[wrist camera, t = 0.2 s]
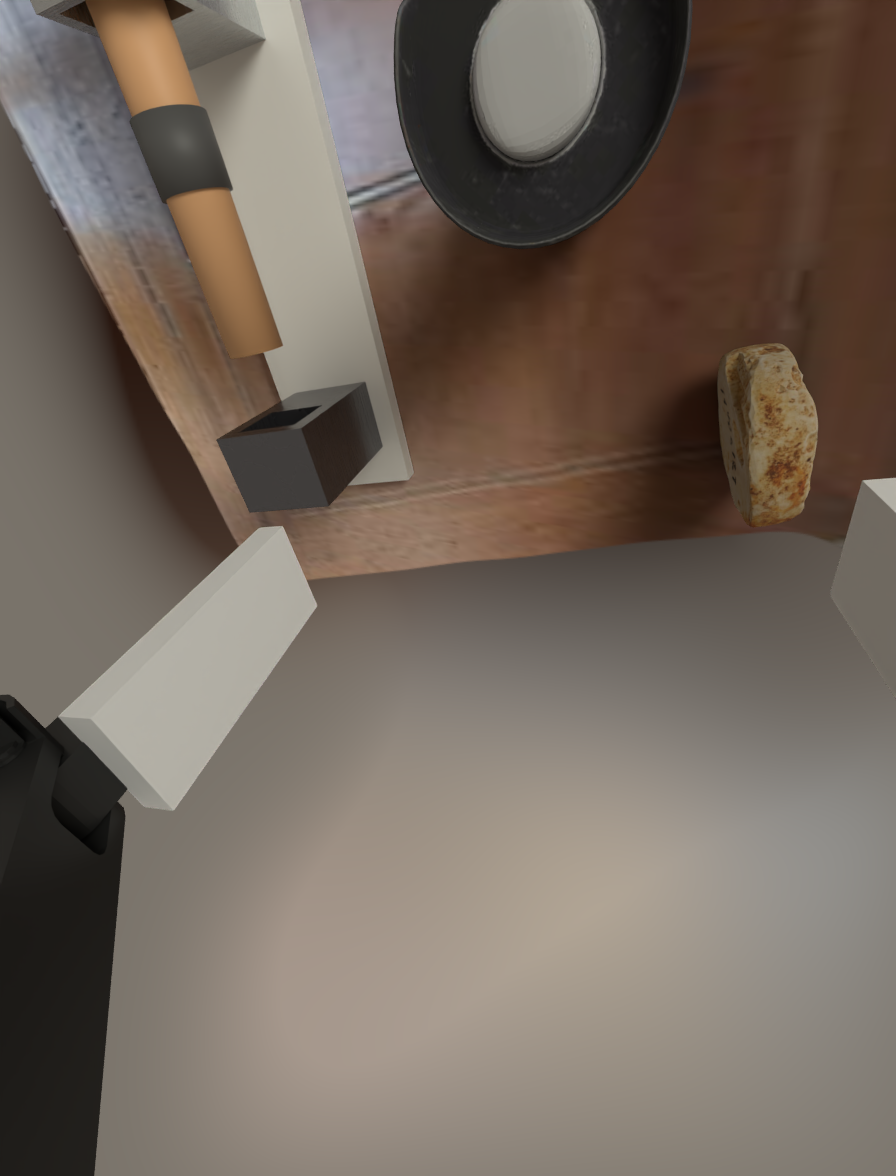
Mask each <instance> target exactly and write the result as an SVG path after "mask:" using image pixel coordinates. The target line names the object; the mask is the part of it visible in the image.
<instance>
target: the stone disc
mask: <svg viewBox="0 0 896 1176" xmlns="http://www.w3.org/2000/svg"><path fill="white" fill-rule="evenodd" d="M802 378H803V375H802V373H801V372H800V370H799V369H798V365H797V362H796V360H795V358H794V356H793V354H792V353H791V351H790V350H789V349H788V348H787V347H785V346H784V345H782V344H777V343H768V344H758V345H752V346H746V347H742V348H738V349H735V350H733V351H731V352H729V353H727V354H725V355H724V356H723V357H722V358H721V360H720V363H719V369H718V381H717V386H718V404H719V406H718V413H719V426H720V443H721V448H722V454H723V460H724V466H725V469H726V473H727V476H728V479H729V484H730V490H731V494H732V497H733V500H734V504H735V506H736V508H737V509H738V510H739V511H740V514H742V517H743V519H744V521H745V522H746V524H747V525H749V526H751V527H762V526H768V525H773V524H778V523H782V522H785V521H789V520H791V519H792V518H794V517H795V516H797V515H799V514H800V513H801V511H802V510H803V508H804V500H805V499H806V497H807V495H808V492H809V490H810V476H811V472H812V467H813V459H814V456H815V451H816V444H817V440H818V438H817V431H818V419H817V413H816V408H815V404H814V401H813V399H812V397H811V396H810V394H809V392H808V391H807V389H806V386H805V385H804V383H803V382H802Z"/></svg>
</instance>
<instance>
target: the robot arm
mask: <svg viewBox="0 0 896 1176" xmlns="http://www.w3.org/2000/svg"><path fill="white" fill-rule="evenodd" d="M830 596H831V598H832V599H833V601H834V602H835V604H836V606H837V607H838V609H839V610H840V612H841V614H842V615H843V617H844V618H845V620H846V622H847V623H848V624H849V626H850V628H851V629H852V631H853V633H854V634H855V635H856V637H857V639H858V640H859V642H860V644H861V645H862V647H863V648H864V650H865V651H866V653H867V655H868V656H869V658H870V659H871V661H872V663H873V664H874V666H875V667H876V669H877V670H878V672H879V674H880V675H881V676H882V678H883V680H884V681H885V683H886V685H887V686H888V688H889V689H890V691H891V693H892V694H893V696H894V697H895V699H896V478H889V479H876V480H863V481H862V484H861V487H860V491H859V494H858V498H857V501H856V505H855V508H854V512H853V515H852V519H851V522H850V526H849V529H848V532H847V536H846V539H845V543H844V546H843V550H842V553H841V557H840V560H839V564H838V567H837V571H836V574H835V578H834V581H833V585H832V588H831V592H830ZM316 607H317V604H316V601H315V599H314V597H313V595H312V592H311V590H310V588H309V585H308V583H307V581H306V578H305V576H304V574H303V571H302V569H301V567H300V565H299V562H298V560H297V558H296V555H295V553H294V551H293V548H292V546H291V544H290V542H289V539H288V537H287V535H286V532H285V530H284V528H283V526H275V527H262V528H258V529H257V530H256V531H255V532H254V533H253V534H252V535H251V536H250V537H249V538H248V539H247V540H246V541H244V542H243V543H242V544H241V545H240V546H239V547H238V548H237V549H236V550H235V551H234V552H233V553H232V554H231V555H230V556H228V558H226V559H225V560H224V561H223V562H222V563H221V564H220V565H219V566H218V567H217V568H216V569H215V570H214V571H212V572H211V573H210V574H209V575H208V576H207V577H206V578H205V579H204V580H203V581H202V582H201V583H200V584H199V585H198V586H196V587H195V588H194V589H193V590H192V591H191V592H190V593H189V594H188V595H187V596H186V597H185V598H184V599H183V600H182V601H181V602H179V603H178V604H177V605H176V606H175V607H174V608H173V609H172V610H171V611H170V612H169V613H168V614H167V615H166V616H165V617H163V618H162V619H161V620H160V621H159V622H158V623H157V624H156V625H155V626H154V627H153V628H152V629H151V630H150V631H149V632H148V633H146V634H145V635H144V636H143V637H142V638H141V639H140V640H139V641H138V642H137V643H136V644H135V645H134V646H133V647H131V648H130V649H129V650H128V651H127V652H126V653H125V654H124V655H123V656H122V657H121V658H120V659H119V660H118V661H117V662H115V664H113V665H112V666H111V667H110V668H109V669H108V670H107V671H106V672H105V673H104V674H103V675H102V676H101V677H100V678H98V679H97V680H96V681H95V682H94V683H93V684H92V685H91V686H90V687H89V688H88V689H87V690H86V691H85V692H83V694H81V695H80V696H79V697H78V698H77V699H76V700H75V701H74V702H73V703H72V704H71V705H70V706H69V707H68V708H66V709H65V710H64V711H63V712H62V713H61V714H60V715H59V716H58V717H57V718H56V719H55V720H54V721H53V722H52V723H51V724H50V725H49V726H48V727H46V728H44V727H43V726H42V725H41V724H40V723H39V722H38V721H37V720H36V719H35V718H34V717H33V716H32V715H31V714H30V713H29V712H28V711H27V710H26V709H25V708H24V707H23V706H22V705H21V704H20V703H19V702H18V701H17V700H16V699H15V698H14V697H12V696H10V695H0V1176H94V1171H95V1160H96V1148H97V1137H98V1124H99V1114H100V1102H101V1091H102V1079H103V1068H104V1067H103V1066H104V1056H105V1045H106V1033H107V1022H108V1009H109V999H110V987H111V975H112V964H113V952H114V941H115V929H116V918H117V907H118V894H119V884H120V872H121V860H122V849H123V838H124V825H125V811H124V808H123V807H122V806H121V805H120V804H119V803H118V802H117V801H118V800H119V799H120V797H121V796H122V795H123V794H124V793H125V792H126V790H128V791H129V792H130V793H131V794H132V795H133V796H134V797H135V798H136V799H137V800H138V801H139V802H140V803H141V804H142V806H144V807H149V808H156V809H163V810H171V811H174V809H175V808H176V806H177V805H178V804H179V802H180V801H181V799H182V798H183V797H184V795H185V794H186V792H187V791H188V789H189V788H190V787H191V785H192V784H193V782H194V781H195V780H196V778H197V777H198V775H199V774H200V772H201V771H202V770H203V768H204V767H205V765H206V764H207V762H208V761H209V759H210V758H211V757H212V755H213V754H214V752H215V751H216V749H217V748H218V747H219V745H220V744H221V742H222V741H223V740H224V738H225V737H226V735H227V734H228V732H229V731H230V730H231V728H232V726H233V725H234V724H235V723H236V721H237V720H238V718H239V717H240V715H241V714H242V712H243V711H244V710H245V708H246V707H247V705H248V704H249V702H250V701H251V700H252V698H253V697H254V695H255V694H256V693H257V691H258V690H259V688H260V687H261V685H262V684H263V683H264V681H265V680H266V678H267V677H268V676H269V674H270V673H271V671H272V670H273V668H274V667H275V666H276V664H277V663H278V661H279V660H280V658H281V657H282V656H283V654H284V653H285V651H286V650H287V648H288V647H289V645H290V644H291V643H292V641H293V640H294V638H295V637H296V636H297V634H298V633H299V631H300V630H301V628H302V627H303V626H304V624H305V623H306V621H307V620H308V618H309V617H310V616H311V614H312V613H313V611H314V610H315V608H316Z"/></svg>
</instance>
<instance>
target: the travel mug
mask: <svg viewBox="0 0 896 1176" xmlns="http://www.w3.org/2000/svg"><path fill="white" fill-rule="evenodd" d="M691 22H692V0H403V1H402V3H401V4H400V6H399V9H398V12H397V18H396V24H395V35H394V81H395V92H396V103H397V108H398V114H399V120H400V125H401V129H402V133H403V137H404V140H405V144H406V147H407V150H408V153H409V155H410V158H411V161H412V163H413V166H414V168H415V170H416V172H417V174H418V176H419V178H420V180H421V182H422V184H423V186H424V187H425V189H426V190H427V192H428V193H429V195H430V196H431V198H432V199H433V201H434V202H435V203H436V204H437V206H438V207H439V208H440V209H441V210H442V211H443V212H444V214H445V215H446V216H447V217H448V218H449V219H451V220H452V221H453V222H454V223H455V224H456V225H457V226H459V227H460V228H461V229H463V230H464V231H466V232H467V233H469V234H471V235H472V236H474V237H476V238H478V239H480V240H483V241H485V242H487V243H490V244H494V245H498V246H501V247H506V248H516V249H528V248H539V247H543V246H548V245H553V244H555V243H558V242H561V241H563V240H566V239H569V238H571V237H573V236H574V235H576V234H578V233H580V232H582V231H584V230H586V229H587V228H589V227H590V226H591V225H593V224H594V223H596V222H597V221H598V220H600V219H601V218H602V217H603V216H604V215H605V214H607V213H608V212H609V211H610V210H611V209H612V208H613V207H614V206H615V205H617V203H618V202H619V201H620V200H621V199H622V198H623V197H624V196H625V194H626V193H627V192H628V191H629V190H630V189H631V188H632V186H633V185H634V184H635V182H636V181H637V179H638V178H639V177H640V175H641V174H642V172H643V171H644V170H645V168H646V166H647V165H648V163H649V161H650V160H651V158H652V156H653V154H654V153H655V151H656V149H657V148H658V146H659V143H660V141H661V139H662V137H663V135H664V133H665V130H666V128H667V126H668V124H669V121H670V118H671V116H672V113H673V110H674V107H675V104H676V102H677V99H678V96H679V92H680V88H681V84H682V80H683V77H684V73H685V69H686V63H687V57H688V51H689V45H690V38H691Z"/></svg>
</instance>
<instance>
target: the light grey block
mask: <svg viewBox="0 0 896 1176" xmlns="http://www.w3.org/2000/svg"><path fill="white" fill-rule="evenodd" d="M30 1H31V3H32V5H33V8H34V10H35V12H36V14H37V15H40V16H42V17H45V18H48V19H50V20H53V21H56V22H59V23H61V24H64V25H67V26H69V27H72V28H75V29H77V30H80V31H83V32H86V33H88V34H91V35H94V36H96V37H99V38H100V36H99V34H98V31H97V29H96V27H95V24H94V22H93V19H92V17H91V14H90V12H89V9H88V7H87V4H86V2H85V1H86V0H30ZM164 1H165V4H166V7H167V10H168V13H169V16H170V19H171V22H172V25H173V27H174V30H175V33H176V36H177V39H178V42H179V45H180V48H181V51H182V54H183V56H184V59H185V62H186V65H187V68H188V70H189V71H190V70H193V69H195V68H198V67H200V66H203V65H205V64H207V63H210V62H212V61H215V60H217V59H220V58H222V57H225V56H227V55H229V54H232V53H234V52H237V51H239V50H242V49H244V48H246V47H249V46H251V45H254V44H256V43H259V42H261V41H263V40H266V38H265V34H264V31H263V27H262V23H261V20H260V16H259V12H258V9H257V5H256V2H255V0H164Z"/></svg>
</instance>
